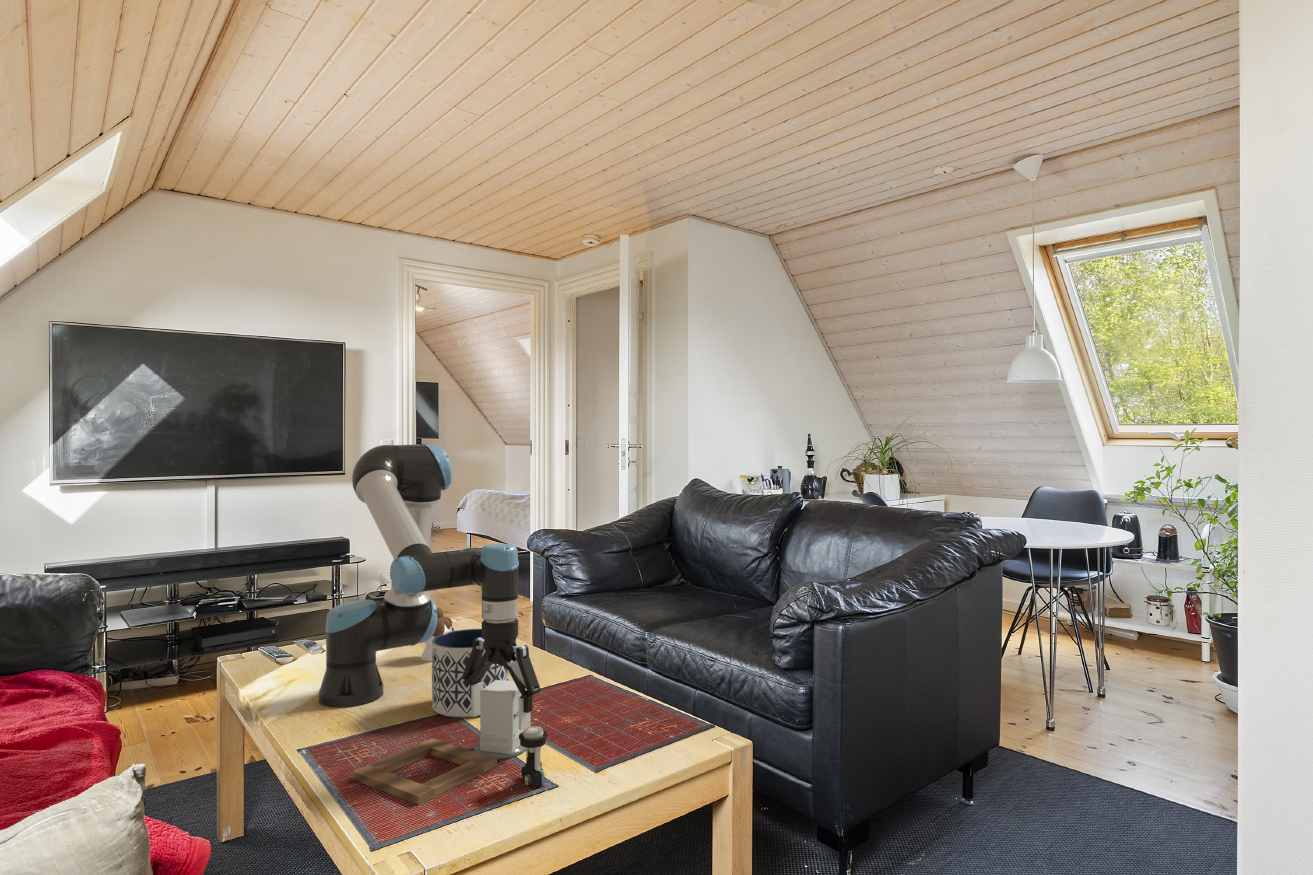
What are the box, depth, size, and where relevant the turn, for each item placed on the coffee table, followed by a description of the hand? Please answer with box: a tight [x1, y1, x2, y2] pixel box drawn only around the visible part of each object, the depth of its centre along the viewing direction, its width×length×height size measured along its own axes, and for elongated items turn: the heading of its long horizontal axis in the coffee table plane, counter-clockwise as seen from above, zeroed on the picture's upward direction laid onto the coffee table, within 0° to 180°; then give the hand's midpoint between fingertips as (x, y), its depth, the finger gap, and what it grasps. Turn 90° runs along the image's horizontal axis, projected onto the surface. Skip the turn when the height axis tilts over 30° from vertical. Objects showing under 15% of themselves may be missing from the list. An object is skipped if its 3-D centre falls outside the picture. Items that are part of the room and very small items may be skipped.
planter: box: [431, 628, 510, 719], centre depth 183 cm, size 18×18×16 cm
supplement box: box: [479, 680, 527, 754], centre depth 157 cm, size 7×7×13 cm
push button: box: [519, 725, 549, 789], centre depth 142 cm, size 7×5×10 cm
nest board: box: [352, 738, 498, 806], centre depth 146 cm, size 19×19×2 cm
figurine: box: [420, 607, 453, 663], centre depth 224 cm, size 10×9×15 cm
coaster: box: [473, 741, 526, 761], centre depth 157 cm, size 11×11×1 cm
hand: (500, 720), depth 157 cm, fingers open, 13 cm apart
